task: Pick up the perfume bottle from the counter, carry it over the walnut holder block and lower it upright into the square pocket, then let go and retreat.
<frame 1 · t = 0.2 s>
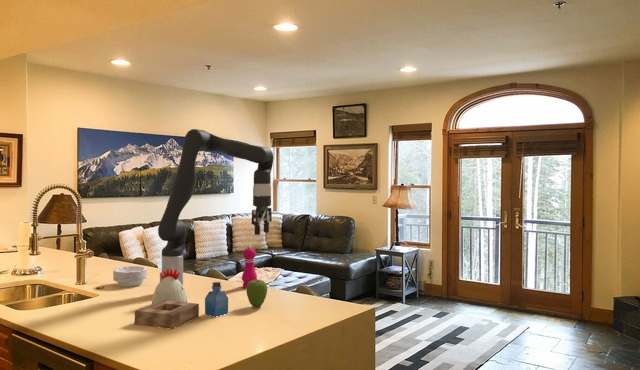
hand: (261, 233, 209), 29 cm above the counter, tool pointing down, fingers open, 8 cm apart
pepper mill: (249, 287, 239), on the counter
kitchen timer: (169, 305, 205), on the counter
holder block: (167, 320, 183), on the counter
perfume bottle: (216, 314, 192), on the counter
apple: (256, 307, 202), on the counter
paper bowls: (130, 285, 242), on the counter
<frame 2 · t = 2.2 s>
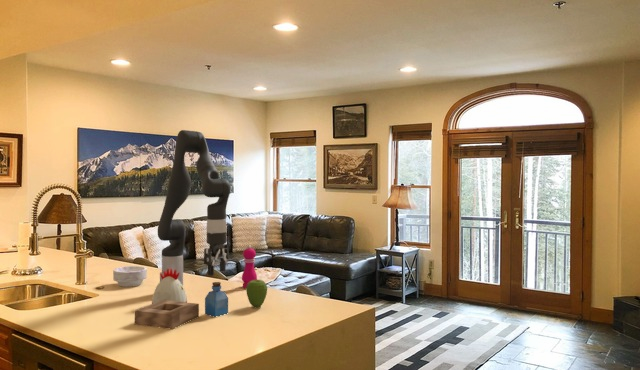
hand: (216, 273, 192), 16 cm above the counter, tool pointing down, fingers open, 8 cm apart
nothing on the counter moved.
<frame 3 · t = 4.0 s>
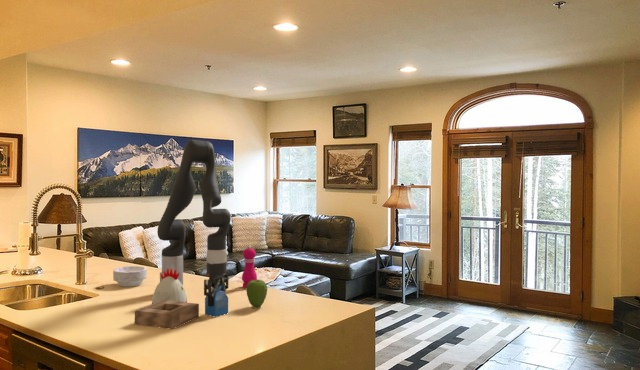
hand: (216, 303, 192), 4 cm above the counter, tool pointing down, fingers closed on perfume bottle, 7 cm apart
perfume bottle: (216, 314, 192), on the counter, touching gripper
everything else where it was.
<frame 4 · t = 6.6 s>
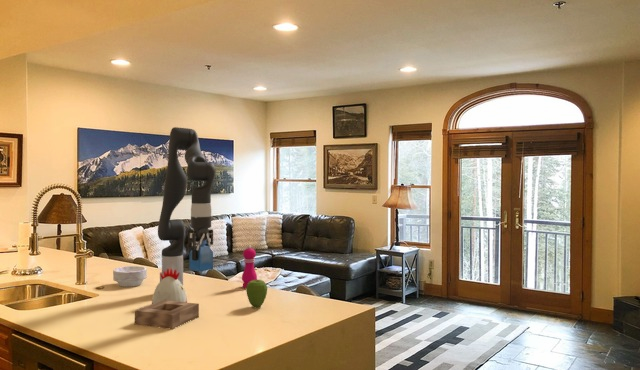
hand: (201, 258, 189), 22 cm above the counter, tool pointing down, fingers closed on perfume bottle, 7 cm apart
perfume bottle: (201, 269, 189), point 18 cm above the counter, touching gripper
everything else where it was.
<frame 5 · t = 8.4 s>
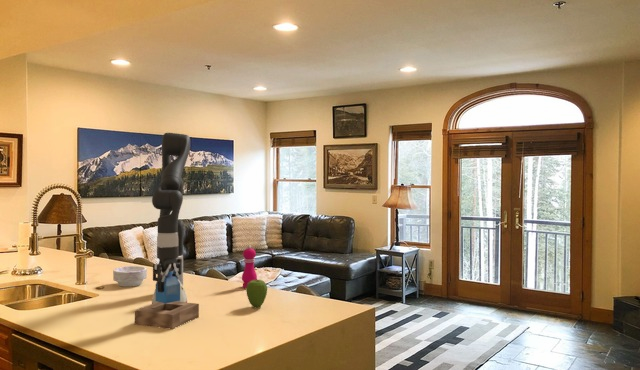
hand: (167, 289, 183), 11 cm above the counter, tool pointing down, fingers closed on perfume bottle, 7 cm apart
perfume bottle: (168, 301, 183), point 7 cm above the counter, touching gripper
everything else where it was.
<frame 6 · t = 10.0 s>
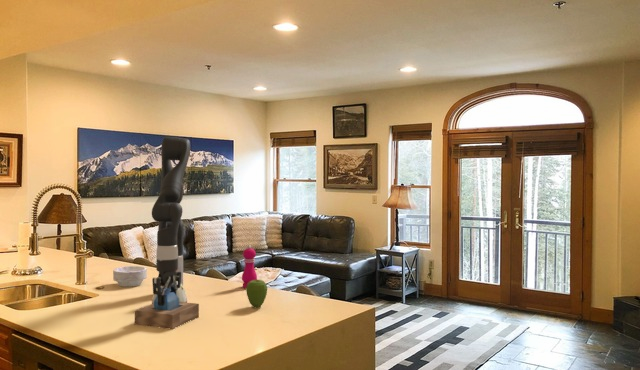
hand: (167, 303, 182), 7 cm above the counter, tool pointing down, fingers closed on perfume bottle, 6 cm apart
perfume bottle: (167, 317, 182), point 1 cm above the counter, touching gripper, holder block
everything else where it was.
when the fingers open (7 cm above the counter, at t = 10.0 s): perfume bottle stays where it is, resting on holder block.
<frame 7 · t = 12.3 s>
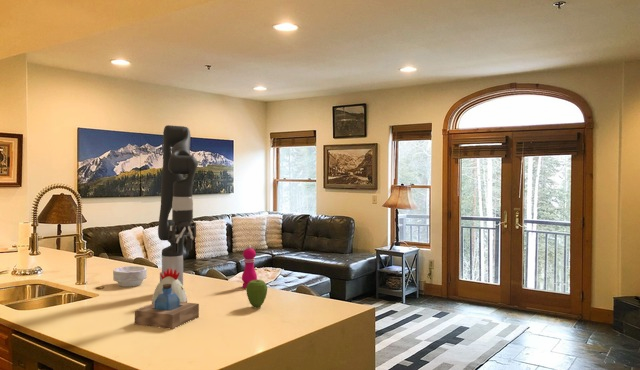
hand: (182, 251, 189), 24 cm above the counter, tool pointing down, fingers open, 8 cm apart
perfume bottle: (167, 318, 182), point 1 cm above the counter, touching holder block
everything else where it was.
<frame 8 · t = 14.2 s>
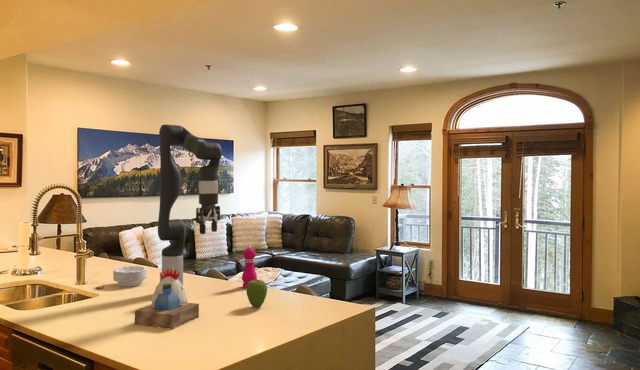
hand: (208, 232, 201), 30 cm above the counter, tool pointing down, fingers open, 8 cm apart
nothing on the counter moved.
at the end: perfume bottle 0.2 cm off-centre on the holder block, point 1.0 cm above the holder block's base; perfume bottle tilted 0°; the gripper is holding nothing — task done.
